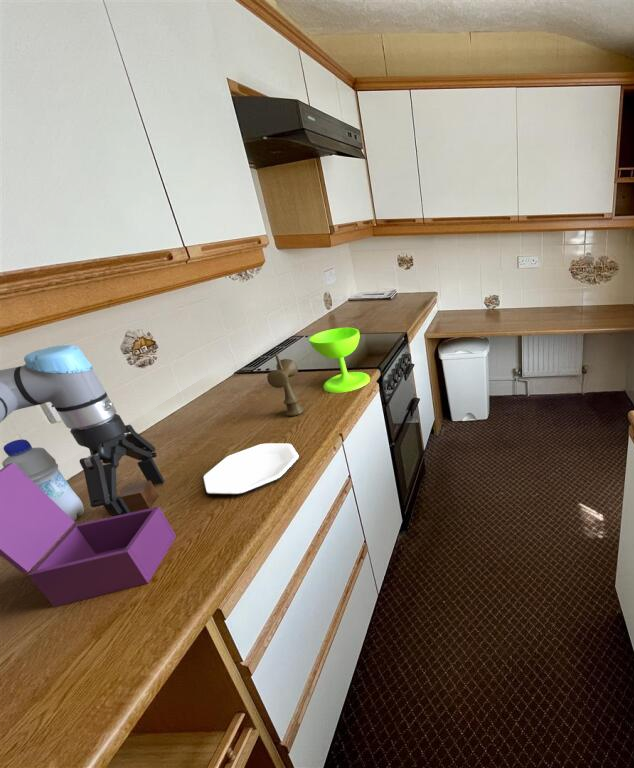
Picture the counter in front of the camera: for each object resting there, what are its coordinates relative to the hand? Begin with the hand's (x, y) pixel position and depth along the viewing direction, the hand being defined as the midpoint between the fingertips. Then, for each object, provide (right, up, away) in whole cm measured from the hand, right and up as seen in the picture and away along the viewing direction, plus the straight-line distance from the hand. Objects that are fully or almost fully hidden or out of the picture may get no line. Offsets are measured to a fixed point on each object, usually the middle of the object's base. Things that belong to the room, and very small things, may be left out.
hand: (143, 502), depth 91 cm
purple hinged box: (+10, -8, -16) cm, 21 cm away
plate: (+19, +5, +9) cm, 22 cm away
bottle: (-14, -3, -3) cm, 15 cm away
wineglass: (+24, +27, +54) cm, 65 cm away
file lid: (+2, +5, -25) cm, 25 cm away
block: (0, -1, 0) cm, 1 cm away
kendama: (+15, +17, +35) cm, 42 cm away
